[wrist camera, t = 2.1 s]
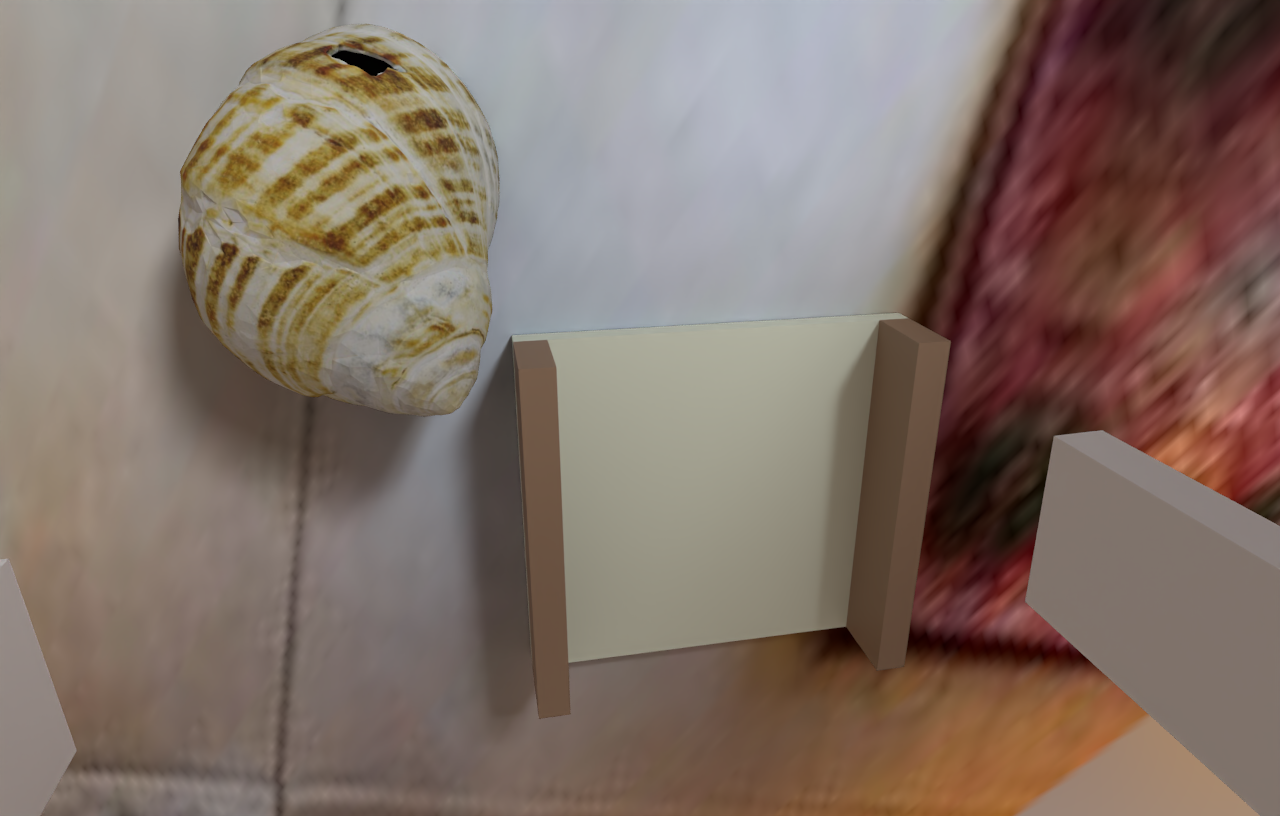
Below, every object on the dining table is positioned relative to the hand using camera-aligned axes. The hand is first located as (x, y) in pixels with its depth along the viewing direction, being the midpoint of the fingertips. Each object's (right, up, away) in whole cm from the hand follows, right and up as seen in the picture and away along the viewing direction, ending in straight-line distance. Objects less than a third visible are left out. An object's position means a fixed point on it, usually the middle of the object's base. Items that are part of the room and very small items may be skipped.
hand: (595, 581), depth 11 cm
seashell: (-8, +9, +17) cm, 21 cm away
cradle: (+3, -1, +23) cm, 23 cm away
